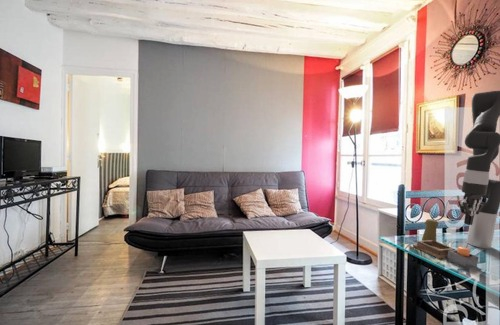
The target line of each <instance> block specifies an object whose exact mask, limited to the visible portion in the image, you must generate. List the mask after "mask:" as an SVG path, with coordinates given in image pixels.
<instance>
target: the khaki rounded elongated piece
mask: <svg viewBox="0 0 500 325" xmlns="http://www.w3.org/2000/svg"><path fill="white" fill-rule="evenodd" d="M424 222H425V225H426V226H425V229H424V232H423V234H422V238H421V241H426V240H434V241H436V242H437V228H438V227H439V221H437V220H436V219H432V218H431V219H430V218H428V219H426V220H425V221H424Z"/></svg>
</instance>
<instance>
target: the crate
mask: <svg viewBox="0 0 500 325" xmlns="http://www.w3.org/2000/svg"><path fill="white" fill-rule="evenodd" d="M412 248H415V249H417V250H420V251H421V252H424V253H426V254H428V255H430V256H432V257H434V256H435V258H437V259H439V258H440V259H447V256H448V251H450V250H456V248H454V247H451V246H450V245H447V244H444V243H441V242H438V241H437V240H436V241H434V240H426V241H422V240H417V241H416V243H415V244H413V245H412Z"/></svg>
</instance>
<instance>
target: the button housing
mask: <svg viewBox="0 0 500 325" xmlns="http://www.w3.org/2000/svg"><path fill="white" fill-rule="evenodd" d="M446 260H447V261H448V262H450V263H453V264H456V265H457V266H459V267H461V268H465V269H469V268H476V267H478V262H479V256H476V255H474V254H472V253H470V256H469V257H464V256H462V255H460V254H457V249H455V250H450V251H448V256H447V258H446Z"/></svg>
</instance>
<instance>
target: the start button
mask: <svg viewBox="0 0 500 325" xmlns="http://www.w3.org/2000/svg"><path fill="white" fill-rule="evenodd" d="M456 250H457V254H460V255H462V256H464V257H469V256H470V254H471V249H469V248H468V247H464V246H457V249H456Z"/></svg>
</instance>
